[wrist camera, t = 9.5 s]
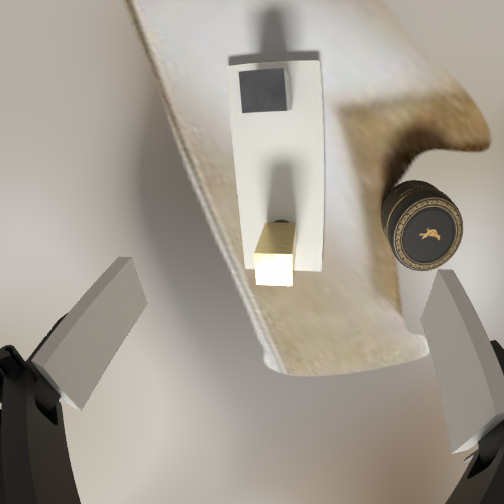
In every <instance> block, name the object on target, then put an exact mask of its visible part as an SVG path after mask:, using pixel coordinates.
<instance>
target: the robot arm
mask: <svg viewBox="0 0 504 504" xmlns="http://www.w3.org/2000/svg"><path fill="white" fill-rule="evenodd" d="M147 304H148V303H147V300H146V298H145V295H144V292H143V290H142V286H141V283H140V281H139V278H138V275H137V272H136V269H135V266H134V262H133V259H132V258H131V257H118V258H117V259H116V261H115V262H114V263H113V264H112V265H111V266H110V267H109V268H108V269H107V270H106V271H105V272H104V273H103V274H102V276H101V277H100V278H99V279H98V280H97V281H96V282H95V283H94V284H93V285H92V286H91V288H90V289H89V290H88V291H87V292H86V293H85V294H84V296H83V297H82V298H81V299H80V300H79V301H78V303H77V304H76V305H75V306H74V307H73V308H72V309H71V311H70V312H69V313H67V314H66V315H64V316H63V317H62V318H61V319H59V320H58V321H57V323H56V324H55V325H54V326H53V328H52V330H50V331H49V333H48V334H47V336H45V337H44V339H43V340H42V341H41V343H40V344H39V345H38V346H37V348H36V349H35V350H34V352H33V353H32V354H31V356H30V357H29V358H28V360H27V361H26V362H25V361H24V360H23V358H22V357H21V355H20V354H19V353H18V351H17V350H16V349H15V348H14V346H12V345H6V346H4V347H2V348H1V349H0V403H2V410H1V409H0V504H81V502H80V498H79V495H78V492H77V488H76V484H75V480H74V476H73V471H72V467H71V462H70V458H69V452H68V447H67V441H66V435H65V428H64V420H63V412H62V406H61V403H60V402H59V399H60V397H62V398H63V399H64V400H65V401H66V402H67V403H68V404H69V405H70V406H72V407H74V408H76V409H79V410H81V411H82V409H83V407H84V406H85V404H86V402H87V400H88V399H89V397H90V395H91V394H92V392H93V390H94V389H95V387H96V385H97V383H98V382H99V380H100V378H101V377H102V375H103V373H104V371H105V370H106V368H107V367H108V365H109V363H110V362H111V360H112V359H113V357H114V355H115V354H116V352H117V351H118V349H119V347H120V346H121V344H122V343H123V341H124V339H125V338H126V336H127V335H128V333H129V332H130V330H131V328H132V327H133V325H134V324H135V322H136V321H137V319H138V318H139V316H140V315H141V313H142V312H143V310H144V308H145V307H146V306H147ZM420 320H421V323H422V326H423V328H424V332H425V335H426V339H427V342H428V345H429V349H430V352H431V356H432V359H433V363H434V366H435V371H436V375H437V379H438V383H439V387H440V392H441V396H442V401H443V406H444V411H445V416H446V422H447V428H448V434H449V441H450V448H451V454H453V453H457V452H461V451H465V450H468V449H470V448H471V447H473V446H474V445H475V444H476V443H478V445H479V449H478V450H476V451H475V452H474V453H472V454H471V455H470V456H468V457H467V458H466V459H465V460H464V462H465V463H466V462H468V461H469V460H470V459H472V460H471V462H470V463H469V465H468V467H467V469H466V471H465V473H464V474H463V476H462V478H461V480H460V481H459V483H458V485H457V486H456V488H455V489H454V491H453V493H452V494H451V496H450V498H449V499H448V500H447V502H446V503H445V504H504V349H503V348H502V347H501V345H500V344H499V343H498V342H497V341H496V340H493V341H490V340H489V338H488V336H487V334H486V332H485V329H484V327H483V325H482V323H481V321H480V319H479V317H478V315H477V313H476V311H475V309H474V307H473V305H472V303H471V301H470V300H469V298H468V296H467V294H466V292H465V290H464V288H463V287H462V285H461V283H460V281H459V280H458V278H457V276H456V274H455V273H454V271H453V270H442V269H440V270H439V269H438V270H437V274H436V277H435V280H434V283H433V286H432V289H431V292H430V295H429V298H428V301H427V303H426V306H425V309H424V312H423V314H422V317H421V319H420Z"/></svg>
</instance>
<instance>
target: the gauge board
mask: <svg viewBox="0 0 504 504" xmlns="http://www.w3.org/2000/svg"><path fill="white" fill-rule="evenodd" d="M225 67H226V78H227V89H228V100H229V111H230V121H231V132H232V142H233V152H234V163H235V173H236V183H237V193H238V203H239V213H240V222H241V232H242V242H243V251H244V261H245V269H255V261H254V252H255V249H256V246H257V243H258V241H259V238H260V235H261V233H262V230H263V227H264V224H265V222H278V223H296V241H297V251H296V259H295V267H294V270H297V271H321V267H322V248H323V221H324V130H323V104H322V86H321V72H320V61H319V60H304V61H275V62H261V63H250V64H240V65H232V66H225ZM276 68H284V69H285V70H286V71H287V73H288V74H289V75H290V83H291V98H292V109H291V110H288V111H271V112H253V113H242V107H241V95H240V84H239V73H238V72H240V71H249V70H261V69H276Z"/></svg>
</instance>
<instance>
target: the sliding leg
mask: <svg viewBox="0 0 504 504" xmlns="http://www.w3.org/2000/svg"><path fill="white" fill-rule="evenodd" d="M296 251H297V241H296V223H278V222H265V224H264V227H263V230H262V233H261V235H260V238H259V241H258V243H257V246H256V249H255V252H254V261H255V273H256V284H260V285H282V286H292V283H293V276H294V267H295V259H296Z"/></svg>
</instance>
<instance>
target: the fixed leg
mask: <svg viewBox="0 0 504 504" xmlns="http://www.w3.org/2000/svg"><path fill="white" fill-rule="evenodd" d="M238 73H239V84H240V95H241V107H242V113H253V112H271V111H288V110H291V109H292V98H291V83H290V75H289V74H288V73H287V71H286V70H285V69H284V68H276V69H261V70H249V71H240V72H238Z"/></svg>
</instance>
